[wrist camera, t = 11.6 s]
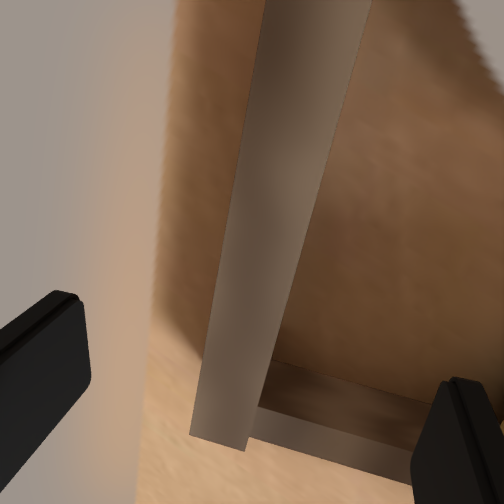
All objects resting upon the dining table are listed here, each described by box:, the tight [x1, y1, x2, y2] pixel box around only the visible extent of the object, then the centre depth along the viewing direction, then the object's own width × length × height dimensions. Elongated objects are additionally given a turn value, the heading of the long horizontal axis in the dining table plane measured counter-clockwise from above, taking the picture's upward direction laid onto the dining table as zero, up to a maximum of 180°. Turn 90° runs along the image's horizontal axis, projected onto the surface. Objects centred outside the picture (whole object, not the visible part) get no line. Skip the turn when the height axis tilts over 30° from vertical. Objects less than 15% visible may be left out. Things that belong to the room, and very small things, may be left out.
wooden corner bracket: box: [189, 0, 501, 486], centre depth 18 cm, size 21×24×5 cm
